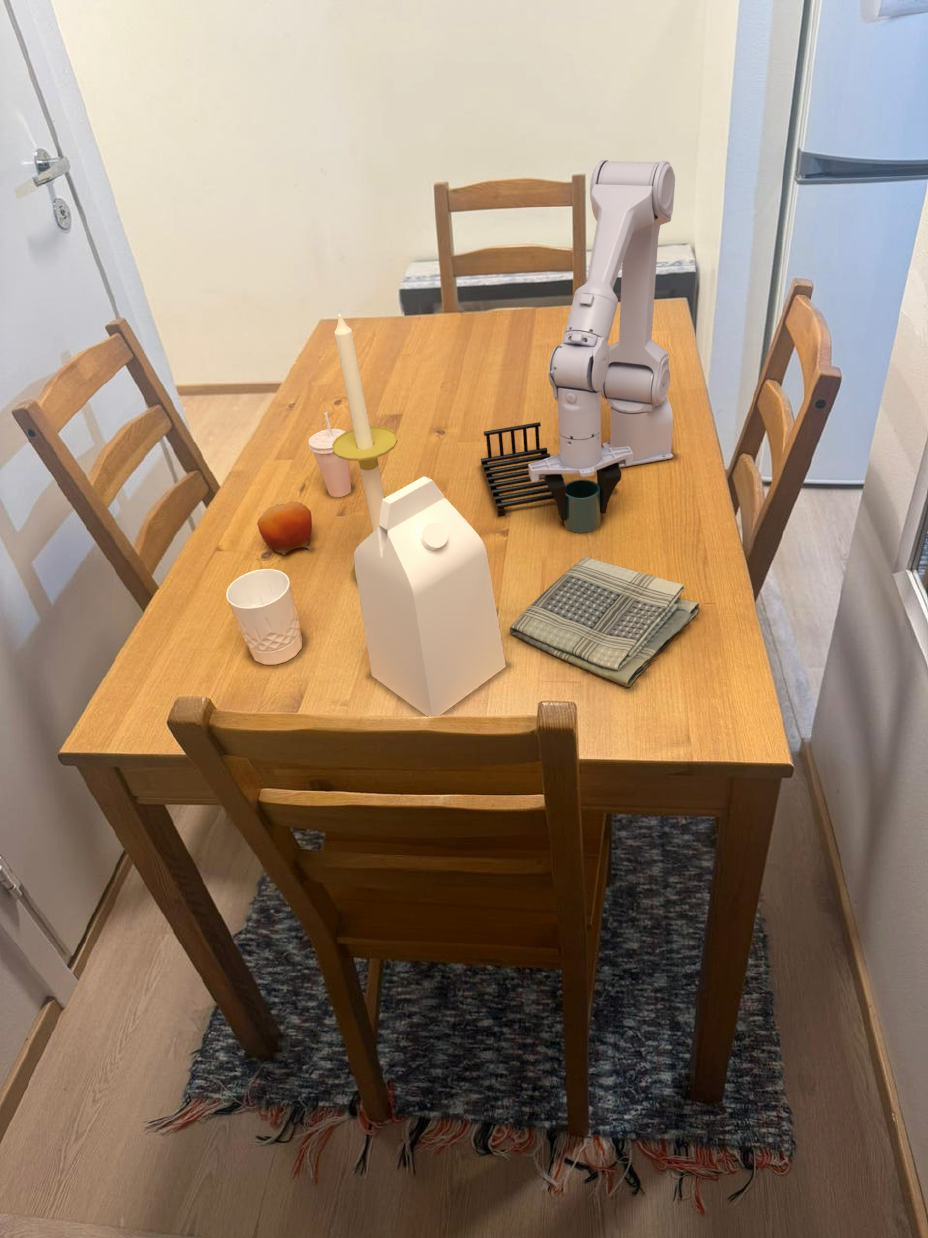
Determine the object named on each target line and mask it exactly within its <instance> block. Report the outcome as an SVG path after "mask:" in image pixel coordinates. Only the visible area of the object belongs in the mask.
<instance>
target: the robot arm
mask: <svg viewBox="0 0 928 1238" xmlns="http://www.w3.org/2000/svg"><path fill="white" fill-rule="evenodd" d="M675 185H676V175H675V172H674V168H673V166H672V165H671V163H670V161H668V160H661V161H617V160H616V161H614V160H613V161H612V160H611V161H609V160H607V159H602V160H600V161H599V162H598V163H597V165H596V166H595V168H594V169H593V171H592V174H591V178H590V186H589V197H590V203H591V210H592V213H593V214H592V215H593V217H594V219H595V221H596V226H595V231H594V237H593V243H592V250H591V256H590V260H589V261H590V262H589V266H588V271H587V278H586V282H585V283H584V284H583V285H581V286H580V287H577V289H576V290H575V292H574V295H573V300H572V303H571V306H570V310H569V315H568V318H567V322H566V326H565V330H564V332H563V334H564V335H563V338H562V343H561V344H559V345H556V346H555V347H554V349H553V350H552V352H551V355H550V357H549V358H550V359H549V364H548V372H547V373H548V374H547V375H548V381H549V384H550V386H551V387H552V393H553V394H552V395H553V396H552V397H553V399H554V400H556V401H557V419H558V421H557V422H558V443H559V453H557V454H553V455H551V456H550V457H549V458H546V459H544V460H537V461H534V462H535V463H533V462H529V463H530V464H528V467H529V468H528V470H529V475H528V477H530V479H531V481H530V482H531V483H534V482H540V480H539V479H540V478H544V479H543V480H544V481H545V482H546V484H547V486H546V487H548V488H549V490H550V491H551V492H550V494H552V495H553V496H554V499H553V500H554V502H555V504H556V508H557V509H556V510H557V514H558V517H559V519H560V521H561V522H564V521H565V520H566V506H565V497H566V488H567V487H566V484H565V483H566V482H565V481H564V477H563V475H579V477H581V478H587V477H592V476H595V474H596V481H597V482H596V483H597V484H599V486H600V489H601V515H604V514H606V513H607V509H608V506H609V502H610V499H611V497H612V494H613V492H614V490H615V488H616V487H617V485H618V484H619V482H620V481H621V480H622V470H621V468H626V467H631V466H637V465H642V464H648V463H653V462H659V461H665V460H671V459H673V458H674V454H673V453H672V452H673V451H672V449H673V430H674V413H673V407H672V404H671V401H670V400H669V398H668V397H667V396H668V393H669V389H670V384H671V371H670V370H671V369H670V357H669V352H668V351H667V350H665V349H664V348H663V347H661V345H659V344H658V343H657V342H655V341H654V340H653V323H654V308H655V306H654V305H655V292H656V281H657V280H656V279H657V277H656V276H657V264H658V249H659V248H658V247H659V234H660V229H661V226H662V225H665V224H667V223H671V221H672V215H673V211H674V203H675V202H674V201H675V200H674V199H675ZM620 270H621V283H620V288H621V289H620V302H619V299H618V296H617V295H616V293H615V292H614V287H615V284H616V282H617V278H618V275H619V273H620ZM619 303H620V305H619V327H618V340H617V342H615V343H614V344H612V345H610V344H609V338H610V335H611V330H612V327H613V324H614V320H615V316H616V312H617V308H618V304H619ZM602 399H604V400H606V407H610V421H609V422H610V423H609V424H610V428H609V429H610V430H609V431H610V435H609V436H610V439H609V441H605V442H603V443H602ZM595 472H596V473H595Z"/></svg>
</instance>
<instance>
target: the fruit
mask: <svg viewBox="0 0 928 1238" xmlns="http://www.w3.org/2000/svg"><path fill="white" fill-rule="evenodd" d="M312 519H313V517H312V511H311V510H310V509H309V507H307V506H306V505H305V504H303V502H299V501H289V502H285V503H277V504H275V505H274V506H271V507H268V508H267V509H266V510H265V511H264V512H263V513H262V514H261V515H260V517H259V518H258V520H257V522H256V525H257V528H258V532H259V534H260V536H261V538H262V540H263V541H264V542H265V543H266V545H267V546H269V548H270V549H271V550H272V551H273V552H277V553H280V554H282V555H284V556H286V555H287V553H289V552H290V551H291V550H294V549H296V548H306V549H308V550H309V551H311V549H310V547H309V546H308V543H309V542H310V539H311V536H312V533H313V532H312V531H313V520H312Z"/></svg>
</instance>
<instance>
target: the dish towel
mask: <svg viewBox="0 0 928 1238" xmlns="http://www.w3.org/2000/svg"><path fill="white" fill-rule="evenodd" d="M685 590H686V588H685V585H684V584H682V583H678V582H675V581H670V580H667V579H665V578H660V577H657V576H654V575H651V574H646V573H643V572H639V571H636V570H632V569H631V568H627V567H623V566H620V565H616V564H611V563H607V562H605V561H601V560H598V559H595V558H591V557H590V556H585V557H582V558H581V559H580V560H579V561H577V562H576V563H575V564H574V565H573V566H571V567H570V568H569V569H568V570H567V571H566V572H565V573H563V575H561V576H560V577H559V578H558V579H557V580H556V581H555V582H554V583H553V584H552V585H550V586H549V587H548V588H547V589H546V590H545V591H544V592H543V593H541V594H540V596H539V597H537V599H536V600H534V601H533V602H532V603H531V604H530V605H529V606H528V608H526V610H525V611H523V613H521V615H520V616H519V617H518V618H517V619H516V620H515V621H514V622H513V623H512V624H510V626H509V634H510V635H511V636H515V637H517V638H519V640H520V639H521V640H523V641H524V642H526V643H528V644H529V645H531V646H534V647H536V648H537V649H539V650H541V651H544V652H545V653H548V654H549V655H551V656H554V657H556V658H558V659H559V660H560V659H561V660H563V661H565V662H567V663H570V664H572V665H575V666H576V667H579V668H581V669H583V670H586V671H589V672H590V673H592V674H595V675H597V676H599V677H603V678H604V679H607V680H609V681H612V682H614V683H616V684H619V685H621V686H623V687H625V688H626V687H627V688H630V687H631V686H632V685H633V683H634V682H635V681H636V680H637V678H638V677H639V676H641V675H642V674H643V672H645V670H646V669H647V668H648V667H649V665H650V664H651V663H652V662H653V660H654V659H655V658H656V657H657V656H658V655H659V654H660V653H661V652H662V651H664V650H665V649H666V648H667V646H668V645H669V644H670V643H671V642H672V641H673V639H674V638H676V637H677V635H678V634H679V633H680V632H681V631H682V630H683V629H684V628H685V627H686V626H687V625H688V624H689V623H690V622H691V621H692V620H693V618H694V617H696V616H697V614H698V612H699V611H700V602H696V601H693V600H689V599H684V598H682V597H680V596H681V594H682V593H683V592H684V591H685Z"/></svg>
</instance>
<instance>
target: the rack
mask: <svg viewBox="0 0 928 1238" xmlns="http://www.w3.org/2000/svg"><path fill="white" fill-rule="evenodd" d="M541 426H542V425H541V422H540V421H538V422H532V423H526V424H521V425H520V424H519V425H514V426H509V427H508V426H507V427H502V428H496V429H491V430H484V431H483V436H484V437H485V439H486V449H487V457H482V458H480V466H481V467H480V468H481V471H482V474H483V476H484V479H485V482H486V485H487V488H488V491H489V494H490V496H491V499H492V503H493V505H494V508H495V511H496V513H497V516H498V517H503V516H506V511H505V508H509V507H514V506H520V505H527V504H531V503H538V502H544V501H549V500H555V499H554V496H553V495H552V493H551V491H550V490H549V488H548V486H547V484H546V482H545V479H544V478H540V479H539V481H537V482H532V481H531V479H530V477H529V467H528V464H530V463H535V462H538V461H541V460H544V459H546V458H549V457H551V454H550V453H548V451H549V450H548V447H541V445H540V444H541V443H540V427H541ZM527 429H529V430H530V429H534V434H535V437H534V438H535V449H530V450H529V447H528V446H529V445H528V432H527V431H528V430H527ZM517 431H522V437H523V439H522V440H523V451H518V452H517V450H516V436H515V432H517ZM509 432H510V443H511V444H510V445H511V453H506V454H505V453H504V441H503V440H504V439H503V434H505V433H509ZM492 435H498V447H499V448H498V449H499V455H494V456H493V454H492V444H491V436H492ZM535 488H536V489H535ZM506 493H507V494H506ZM546 493H547V494H546ZM535 495H537V496H535ZM524 497H525V498H524ZM512 499H513V500H512Z"/></svg>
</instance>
